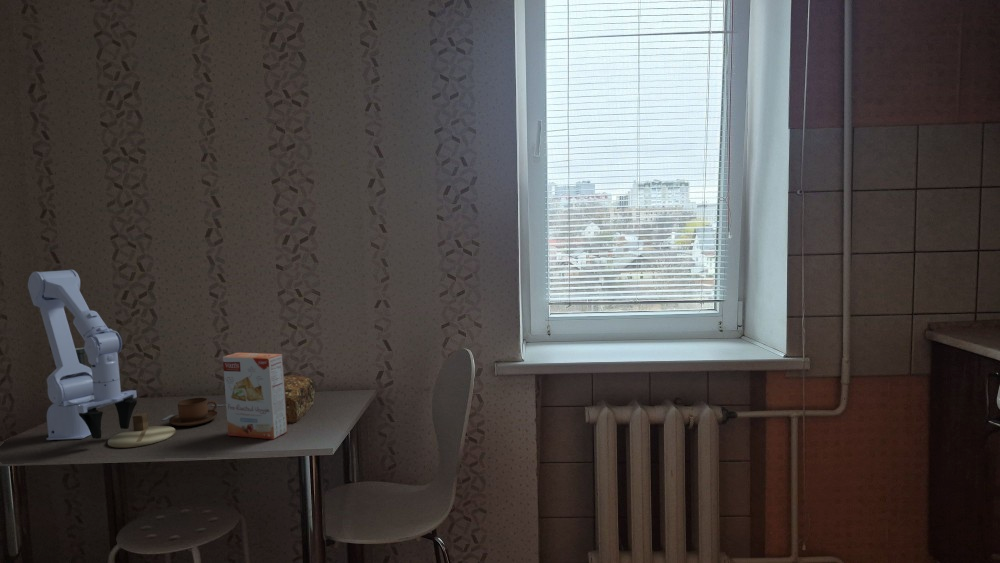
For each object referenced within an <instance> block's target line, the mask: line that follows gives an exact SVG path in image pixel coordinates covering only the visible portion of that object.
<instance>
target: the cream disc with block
mask: <svg viewBox="0 0 1000 563" xmlns="http://www.w3.org/2000/svg"><path fill="white" fill-rule="evenodd" d="M132 427H133V429H130V430H126V431H123V432H120V433H118V434H115V435H113V436H111V437H110V438H109V439H108V440H107V445H108V446H109V447H112V448H117V449H119V448H121V449H123V448H124V449H125V448H134V447H135V448H136V447H141V446H147V445H151V444H155V443H158V442H162V441H164V440H168V439H170V438H171V437H173V436H174V435H176V428H174V427H172V426H167V425H155V426H154V425H153V426H149V419H148V412H143V413H141V412H140V413H136V414H134V415H132Z"/></svg>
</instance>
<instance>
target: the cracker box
mask: <svg viewBox="0 0 1000 563" xmlns="http://www.w3.org/2000/svg"><path fill="white" fill-rule="evenodd" d="M283 360H284V359H283V354H282V353H262V352H258V353H257V352H235V353H232V354H231V353H230V354H226V355H224V356H222V365H223V381H224V393H225V405H226V406H225V408H226V421H227V433H228V434H227V435H228V436H229V437H230V436H231V437H243V438H252V439H253V438H254V439H265V440H275V439H277V438H280V436H282V435H284V434H287V433H288V423H287V419H286V404H285V389H284V376H285V374H284V362H283Z"/></svg>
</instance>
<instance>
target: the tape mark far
mask: <svg viewBox="0 0 1000 563" xmlns="http://www.w3.org/2000/svg"><path fill="white" fill-rule="evenodd" d="M214 406H215V405H214V404H211V407H214ZM217 407H226V404H217Z"/></svg>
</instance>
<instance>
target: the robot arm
mask: <svg viewBox="0 0 1000 563" xmlns="http://www.w3.org/2000/svg"><path fill="white" fill-rule="evenodd" d="M79 275H80V274H78V272H77V271H76V270H74V269H66V270H65V269H64V270H51V271H49V270H47V271H33V272H32V273H31V274H30V275H29V277H28V282H27V289H28V293H29V295H30V299H31V301H32V305H33V306H35V307H38V308H39V312H40V314H41V318H42V321H43V325H44V329H45V332H46V336H47V339H48V343H49V347H50V349H51V353H52V357H53V361H54V364H55V367H56V369H54V370H53V372H51V373H50V375H48V377H47V378H46V384H47V396H48V399H49V401H50V402H51V403H52V404H50V406H49V407H48V409H47V412H46V423H47V424H46V425H47V434H48V437H46V441H56V440H58V441H60V440H61V441H62V440H78V439H79V440H80V439H84V438H86V437H89V436H91V437H92V439H101V438H102V427H101V426H102V417H103V414H104V412H103V411H101V410H100V411H99V410H98V409H101V408H104V407H107V406H110V405H114V406H115V408H116V412H117V415H118V422H119V427H120V429H122V430H123V429H125V430H127V429H129V428H130V421H131V418H132V416H133V415H132V414H133V411H134V409H135V407H136V406H137V403H138V402H137V401H138V400H137V398H138V397H137V396H138V395H137V394H138V393H137V390H133V389H130V390H125V391H121V390H122V388H121V379H120V377H121V376H120V366H119V356H118V355H119V353H121V351H122V349H123V340H122V337H121V336H120V334H119V332H118V331H116V330H113V329H112V328H109V327H108V326H107V324H106V323H105V321H104V320H103V319H102V317H101V315H100V314H99V313H98V312H97V311H96V310H91V309H90V308H89V306H88V304H87V302H86V301H85V298H84V296H83V295H82V293H81V291H80V289H81V278H80V276H79ZM65 308H67V310H68V311H69V312H70V313H71V314H72V315H73V317H74V318H73V321H72V322H73V325H74V327H75V328H76V330H77V331H78V333H79V334H80V336H81V337H82V339H83V341H84V345H83V348H84V349H85V355H86V356H87V361H88V362H87V363H88V365H91V366H89V367H87V366H85V365H83V364H80V363H79V360H78V357H77V353H76V350H75V348H76V347H75V343H74V339H73V336H72V333H71V328H70V326H69V322H68V319H67V315H66V312H65ZM74 376H77V377H74ZM69 377H72V378H69ZM96 409H97V410H96Z"/></svg>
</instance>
